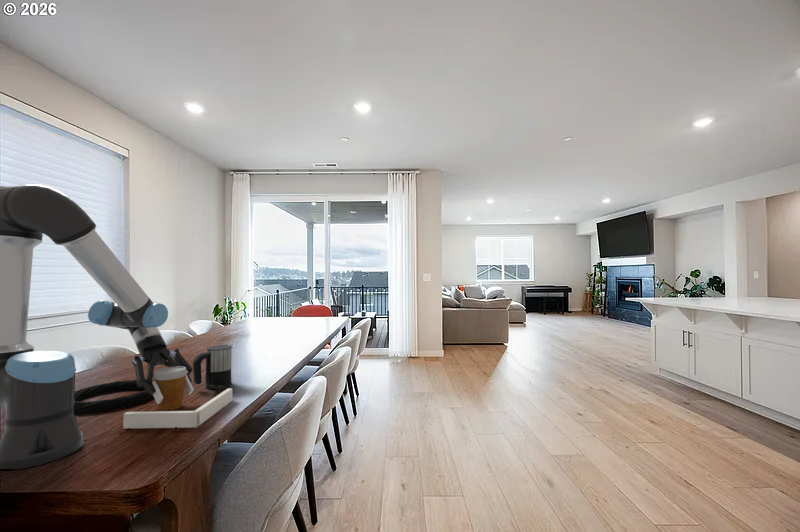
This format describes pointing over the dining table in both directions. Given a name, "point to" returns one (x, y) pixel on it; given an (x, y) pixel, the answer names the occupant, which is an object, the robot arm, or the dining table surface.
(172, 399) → the disposable coffee cup
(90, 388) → the cable lock
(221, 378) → the milk frother
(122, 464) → the dining table surface
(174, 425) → the bracket
